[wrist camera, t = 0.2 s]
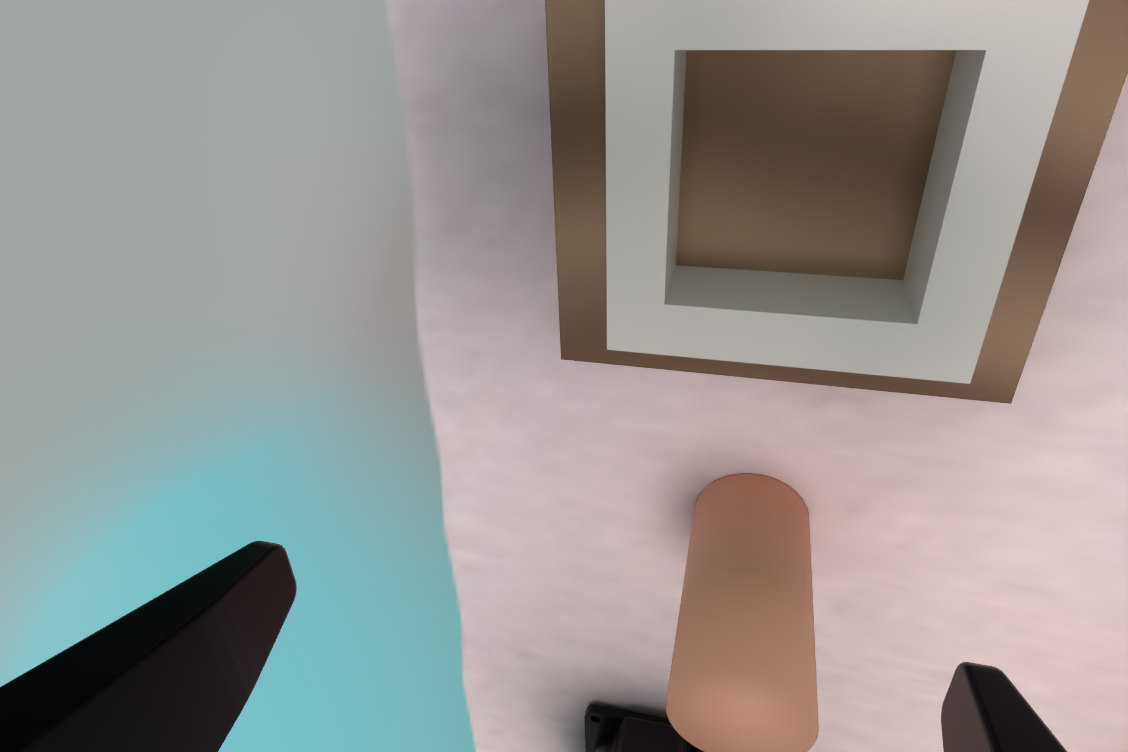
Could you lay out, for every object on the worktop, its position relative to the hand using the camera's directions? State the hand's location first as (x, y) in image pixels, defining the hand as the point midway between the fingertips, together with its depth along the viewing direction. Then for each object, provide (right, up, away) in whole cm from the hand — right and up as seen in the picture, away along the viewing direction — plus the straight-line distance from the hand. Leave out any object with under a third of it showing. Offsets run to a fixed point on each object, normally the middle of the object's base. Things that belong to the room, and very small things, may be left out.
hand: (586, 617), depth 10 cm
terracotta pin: (+6, -2, +17) cm, 18 cm away
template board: (+6, +9, +10) cm, 14 cm away
